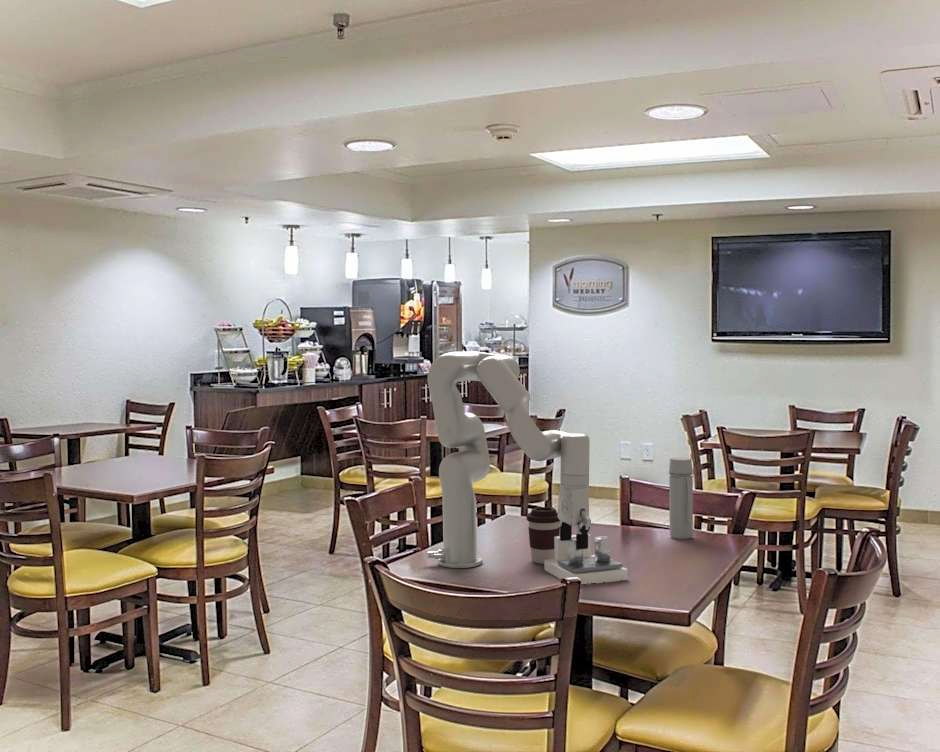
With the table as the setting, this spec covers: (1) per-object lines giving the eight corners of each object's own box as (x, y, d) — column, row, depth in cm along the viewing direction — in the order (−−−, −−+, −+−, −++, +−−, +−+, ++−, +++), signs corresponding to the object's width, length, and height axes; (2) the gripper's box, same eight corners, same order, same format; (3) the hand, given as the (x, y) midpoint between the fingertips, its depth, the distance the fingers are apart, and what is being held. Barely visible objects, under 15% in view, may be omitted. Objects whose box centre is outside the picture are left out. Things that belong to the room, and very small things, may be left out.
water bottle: (664, 536, 290) (663, 457, 289) (686, 534, 292) (685, 456, 291) (679, 542, 281) (678, 461, 280) (701, 540, 283) (701, 460, 282)
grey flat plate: (574, 572, 235) (574, 569, 235) (557, 563, 244) (557, 560, 244) (622, 567, 239) (622, 563, 239) (604, 558, 249) (604, 555, 249)
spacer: (572, 565, 238) (572, 542, 238) (565, 562, 242) (565, 539, 241) (586, 564, 239) (585, 541, 239) (579, 560, 243) (579, 538, 243)
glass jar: (604, 562, 240) (603, 539, 240) (592, 561, 243) (590, 538, 243) (613, 559, 243) (612, 536, 243) (601, 557, 246) (599, 535, 245)
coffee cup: (533, 566, 254) (533, 513, 253) (522, 558, 263) (521, 507, 263) (567, 563, 256) (566, 511, 256) (554, 555, 266) (554, 504, 265)
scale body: (572, 586, 233) (572, 551, 233) (544, 570, 250) (544, 537, 250) (627, 579, 239) (627, 545, 238) (596, 564, 255) (596, 532, 255)
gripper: (548, 475, 246) (547, 538, 247) (576, 486, 230) (575, 553, 231) (573, 474, 249) (572, 536, 250) (602, 485, 233) (601, 551, 234)
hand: (573, 544), depth 240 cm, fingers open, 9 cm apart
